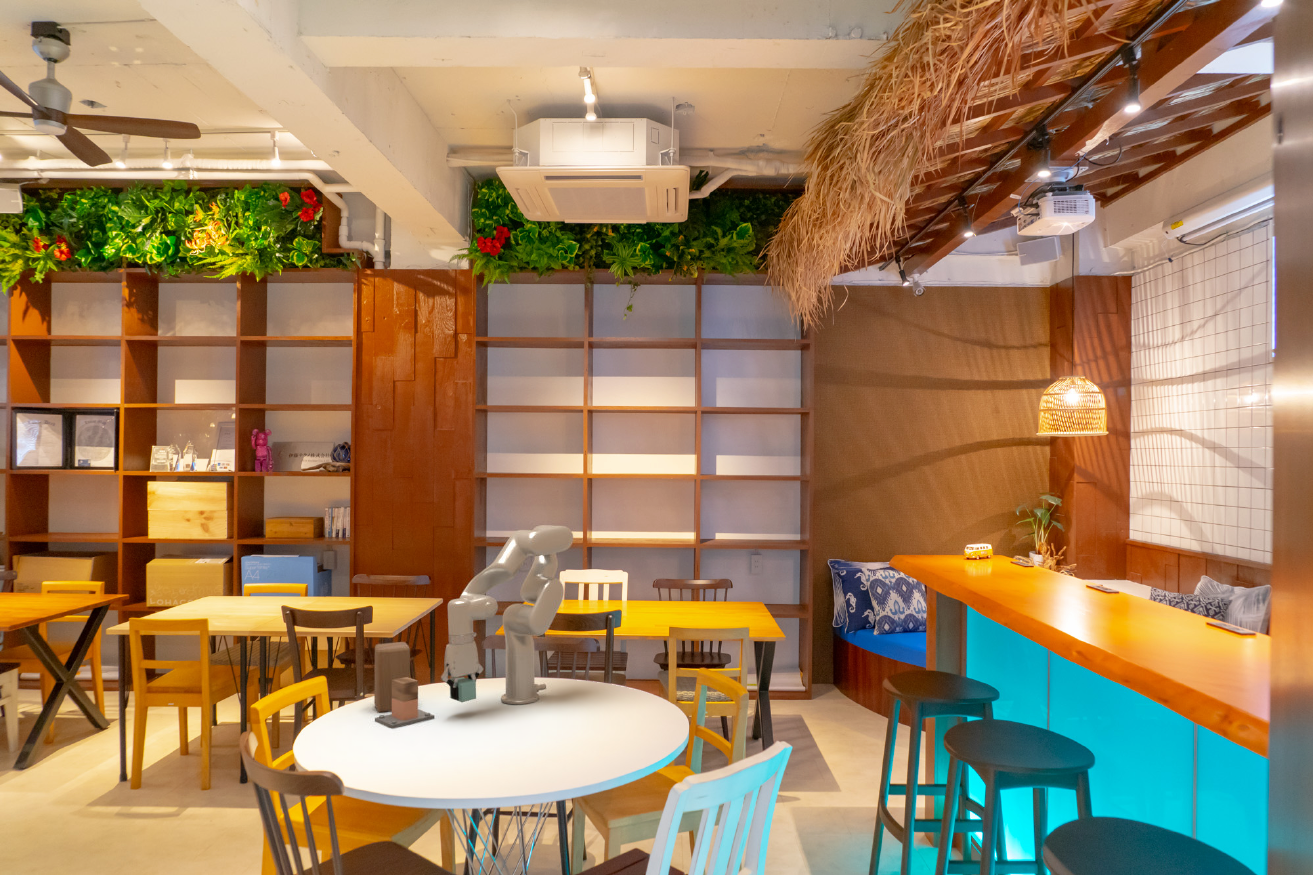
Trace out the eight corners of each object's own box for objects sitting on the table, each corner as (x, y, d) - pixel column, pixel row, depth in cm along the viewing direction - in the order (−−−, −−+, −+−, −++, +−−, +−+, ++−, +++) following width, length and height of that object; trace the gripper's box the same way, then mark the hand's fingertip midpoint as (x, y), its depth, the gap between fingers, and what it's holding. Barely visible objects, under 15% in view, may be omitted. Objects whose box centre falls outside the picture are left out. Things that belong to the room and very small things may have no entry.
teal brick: (464, 694, 263) (463, 677, 263) (476, 698, 258) (475, 680, 258) (450, 698, 259) (449, 680, 259) (462, 702, 254) (461, 684, 254)
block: (374, 705, 271) (374, 643, 271) (405, 701, 275) (405, 641, 276) (377, 713, 261) (378, 649, 262) (410, 709, 266) (410, 646, 267)
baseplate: (416, 711, 263) (416, 690, 263) (434, 718, 255) (434, 697, 255) (374, 721, 253) (374, 699, 253) (391, 728, 245) (392, 706, 245)
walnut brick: (406, 694, 259) (406, 676, 259) (418, 698, 254) (418, 680, 254) (391, 697, 255) (391, 679, 255) (403, 702, 250) (403, 683, 250)
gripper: (477, 632, 267) (479, 688, 267) (430, 642, 255) (432, 701, 255) (491, 635, 262) (493, 692, 262) (443, 645, 250) (445, 706, 250)
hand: (463, 696), depth 259 cm, fingers closed on teal brick, 4 cm apart
